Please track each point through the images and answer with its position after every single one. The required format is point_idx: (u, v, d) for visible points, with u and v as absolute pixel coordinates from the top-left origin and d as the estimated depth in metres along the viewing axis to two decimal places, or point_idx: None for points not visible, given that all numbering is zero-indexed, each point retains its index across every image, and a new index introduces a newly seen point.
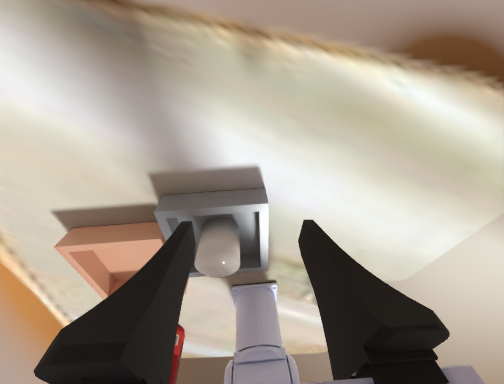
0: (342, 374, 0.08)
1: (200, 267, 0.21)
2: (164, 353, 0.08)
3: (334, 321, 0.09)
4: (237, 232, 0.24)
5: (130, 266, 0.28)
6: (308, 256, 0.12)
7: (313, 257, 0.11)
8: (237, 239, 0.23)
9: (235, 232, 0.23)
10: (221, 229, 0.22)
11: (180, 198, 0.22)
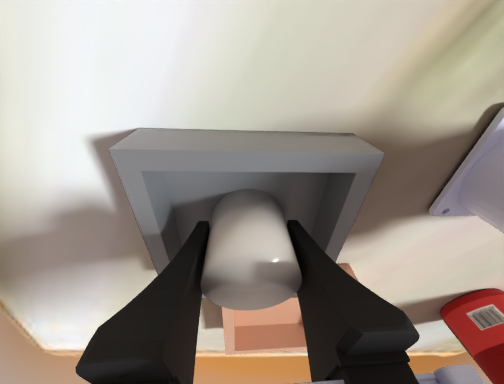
0: (319, 376, 0.08)
1: (255, 305, 0.11)
2: (189, 351, 0.08)
3: (312, 322, 0.09)
4: (233, 204, 0.11)
5: (293, 310, 0.22)
6: None
7: None
8: (233, 217, 0.10)
9: (225, 211, 0.11)
10: None
11: None
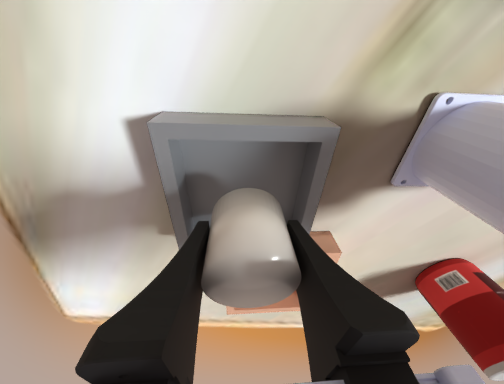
0: (319, 376, 0.08)
1: (255, 303, 0.11)
2: (189, 351, 0.08)
3: (312, 322, 0.09)
4: (233, 202, 0.11)
5: None
6: None
7: None
8: (233, 215, 0.10)
9: (225, 210, 0.11)
10: None
11: None
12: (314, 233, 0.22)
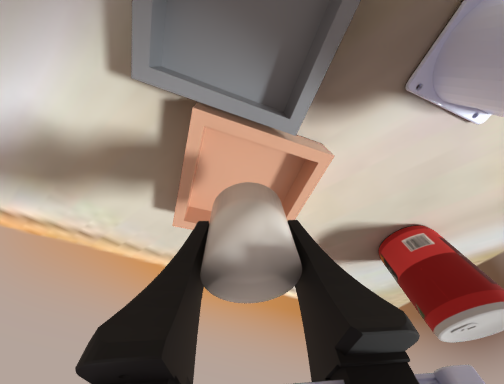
0: (319, 376, 0.08)
1: (256, 297, 0.11)
2: (190, 351, 0.08)
3: (312, 322, 0.09)
4: (232, 196, 0.11)
5: None
6: None
7: None
8: (231, 208, 0.10)
9: (224, 203, 0.11)
10: (208, 228, 0.11)
11: None
12: (305, 138, 0.18)
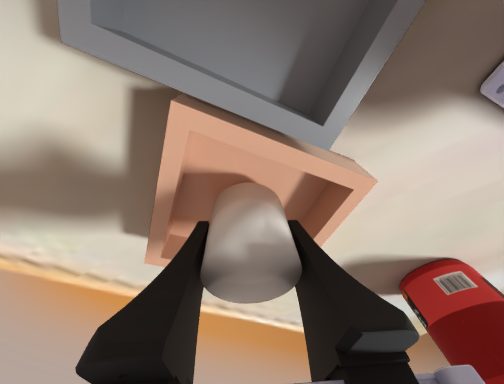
0: (318, 376, 0.08)
1: (257, 297, 0.11)
2: (189, 351, 0.08)
3: (312, 322, 0.09)
4: (232, 197, 0.11)
5: None
6: None
7: None
8: (231, 209, 0.10)
9: (224, 204, 0.11)
10: None
11: None
12: (333, 152, 0.13)
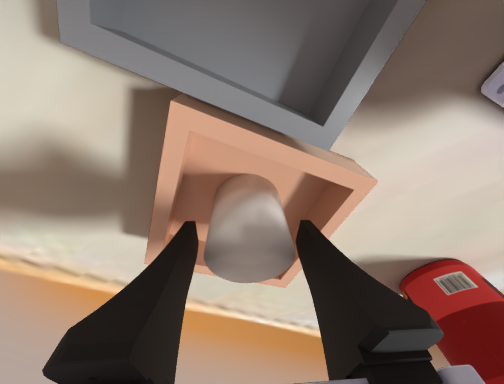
0: (338, 375, 0.08)
1: (254, 277, 0.12)
2: (169, 353, 0.08)
3: (330, 321, 0.09)
4: (233, 186, 0.12)
5: None
6: (305, 256, 0.12)
7: (309, 257, 0.11)
8: (232, 197, 0.11)
9: (226, 193, 0.12)
10: None
11: None
12: (333, 152, 0.13)
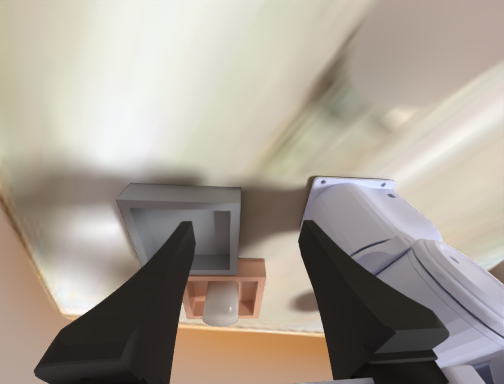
0: (342, 374, 0.08)
1: (226, 324, 0.28)
2: (164, 353, 0.08)
3: (334, 321, 0.09)
4: (211, 286, 0.29)
5: None
6: (308, 256, 0.12)
7: (313, 257, 0.11)
8: (210, 294, 0.28)
9: (209, 290, 0.29)
10: None
11: None
12: (251, 260, 0.29)
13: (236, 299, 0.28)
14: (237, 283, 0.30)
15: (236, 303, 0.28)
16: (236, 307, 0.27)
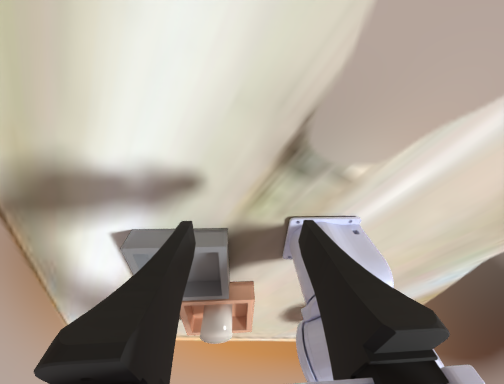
0: (342, 374, 0.08)
1: (220, 341, 0.31)
2: (164, 353, 0.08)
3: (334, 321, 0.09)
4: (209, 306, 0.32)
5: None
6: (308, 256, 0.12)
7: (313, 257, 0.11)
8: (208, 313, 0.31)
9: (206, 309, 0.32)
10: None
11: None
12: (242, 283, 0.32)
13: (230, 318, 0.32)
14: None
15: (231, 321, 0.31)
16: (231, 325, 0.31)
